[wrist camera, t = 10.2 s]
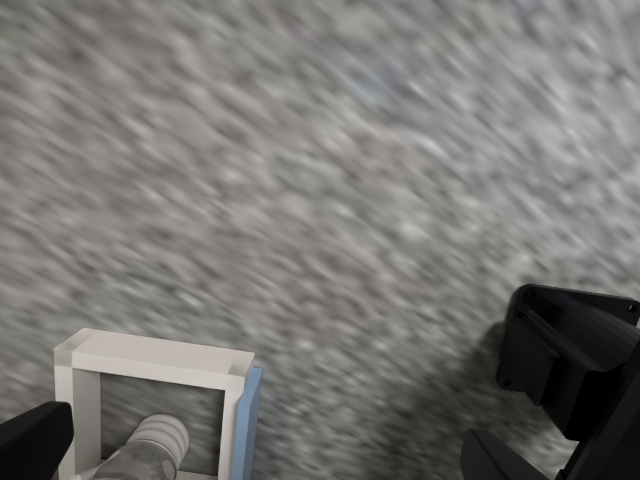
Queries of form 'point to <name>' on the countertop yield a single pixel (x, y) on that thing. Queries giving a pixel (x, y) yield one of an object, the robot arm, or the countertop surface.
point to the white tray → (164, 365)
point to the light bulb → (146, 453)
